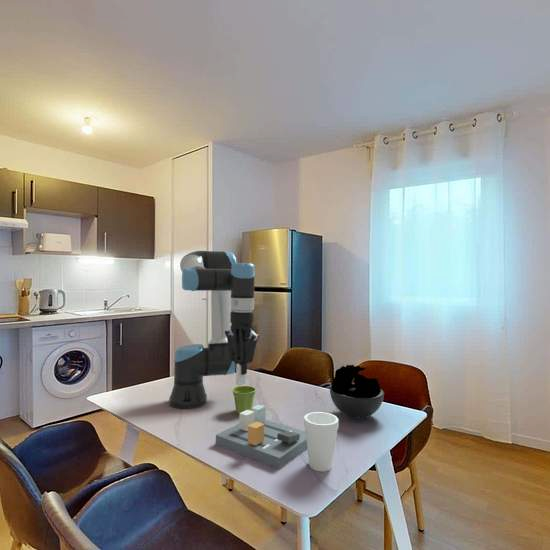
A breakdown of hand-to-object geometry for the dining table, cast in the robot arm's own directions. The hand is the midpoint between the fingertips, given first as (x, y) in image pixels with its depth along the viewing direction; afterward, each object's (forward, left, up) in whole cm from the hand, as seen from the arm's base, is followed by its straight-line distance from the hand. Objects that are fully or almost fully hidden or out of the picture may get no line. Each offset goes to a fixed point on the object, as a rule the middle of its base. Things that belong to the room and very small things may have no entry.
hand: (240, 383), depth 115 cm
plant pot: (-14, +19, -18) cm, 30 cm away
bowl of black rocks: (+23, +41, -18) cm, 50 cm away
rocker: (+18, +1, -13) cm, 22 cm away
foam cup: (+29, +1, -18) cm, 34 cm away
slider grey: (+2, +7, -14) cm, 16 cm away
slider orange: (+10, -5, -14) cm, 18 cm away
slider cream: (+2, +1, -14) cm, 14 cm away
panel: (+9, +2, -18) cm, 20 cm away
